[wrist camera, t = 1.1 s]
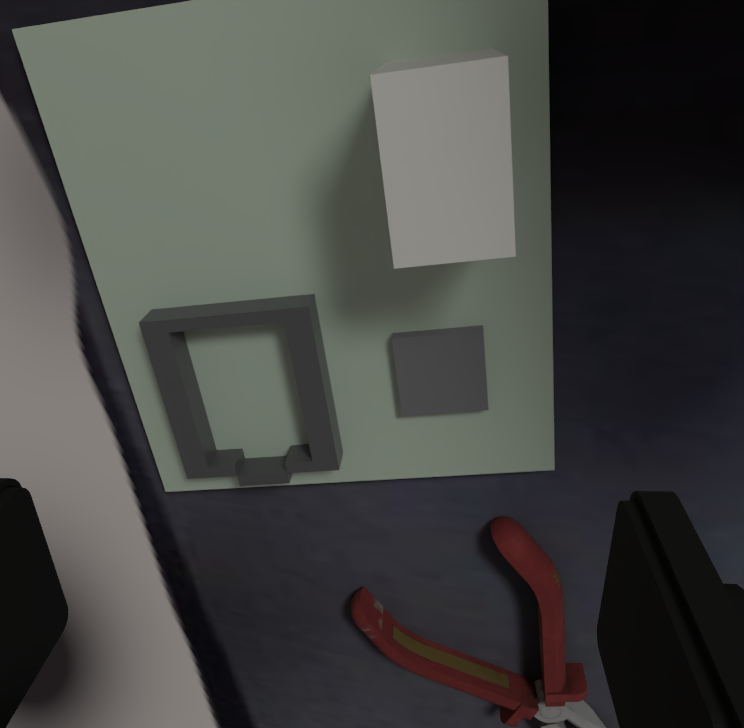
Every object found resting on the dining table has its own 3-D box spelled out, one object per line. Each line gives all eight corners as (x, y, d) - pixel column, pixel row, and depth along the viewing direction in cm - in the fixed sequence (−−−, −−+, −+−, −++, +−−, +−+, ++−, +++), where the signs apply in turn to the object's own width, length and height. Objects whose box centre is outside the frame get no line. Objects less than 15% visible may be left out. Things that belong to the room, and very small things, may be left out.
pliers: (526, 772, 46) (530, 812, 43) (343, 586, 39) (337, 622, 37) (684, 714, 42) (699, 755, 40) (510, 499, 36) (516, 532, 33)
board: (543, -54, 24) (549, -59, 22) (551, 458, 34) (556, 477, 32) (25, 29, 27) (2, 29, 25) (172, 480, 36) (161, 499, 35)
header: (314, 293, 30) (308, 306, 28) (344, 462, 34) (341, 480, 32) (151, 309, 31) (138, 322, 29) (200, 470, 35) (190, 488, 33)
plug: (492, 48, 25) (507, 55, 19) (501, 229, 28) (516, 279, 22) (384, 63, 25) (369, 74, 20) (404, 239, 28) (396, 291, 23)
